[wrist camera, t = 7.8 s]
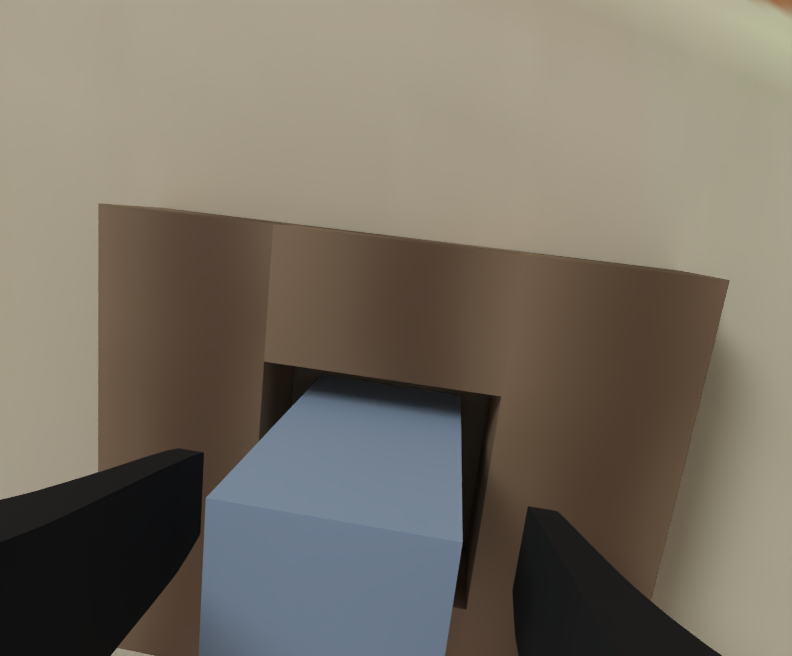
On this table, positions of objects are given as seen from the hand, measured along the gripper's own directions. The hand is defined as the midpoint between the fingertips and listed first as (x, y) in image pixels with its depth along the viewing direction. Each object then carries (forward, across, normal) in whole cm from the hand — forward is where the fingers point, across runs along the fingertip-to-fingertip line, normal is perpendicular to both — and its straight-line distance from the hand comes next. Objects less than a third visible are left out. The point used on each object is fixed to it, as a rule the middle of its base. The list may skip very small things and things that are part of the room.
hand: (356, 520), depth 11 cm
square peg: (+4, 0, 0) cm, 4 cm away
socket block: (+4, 0, 0) cm, 4 cm away
